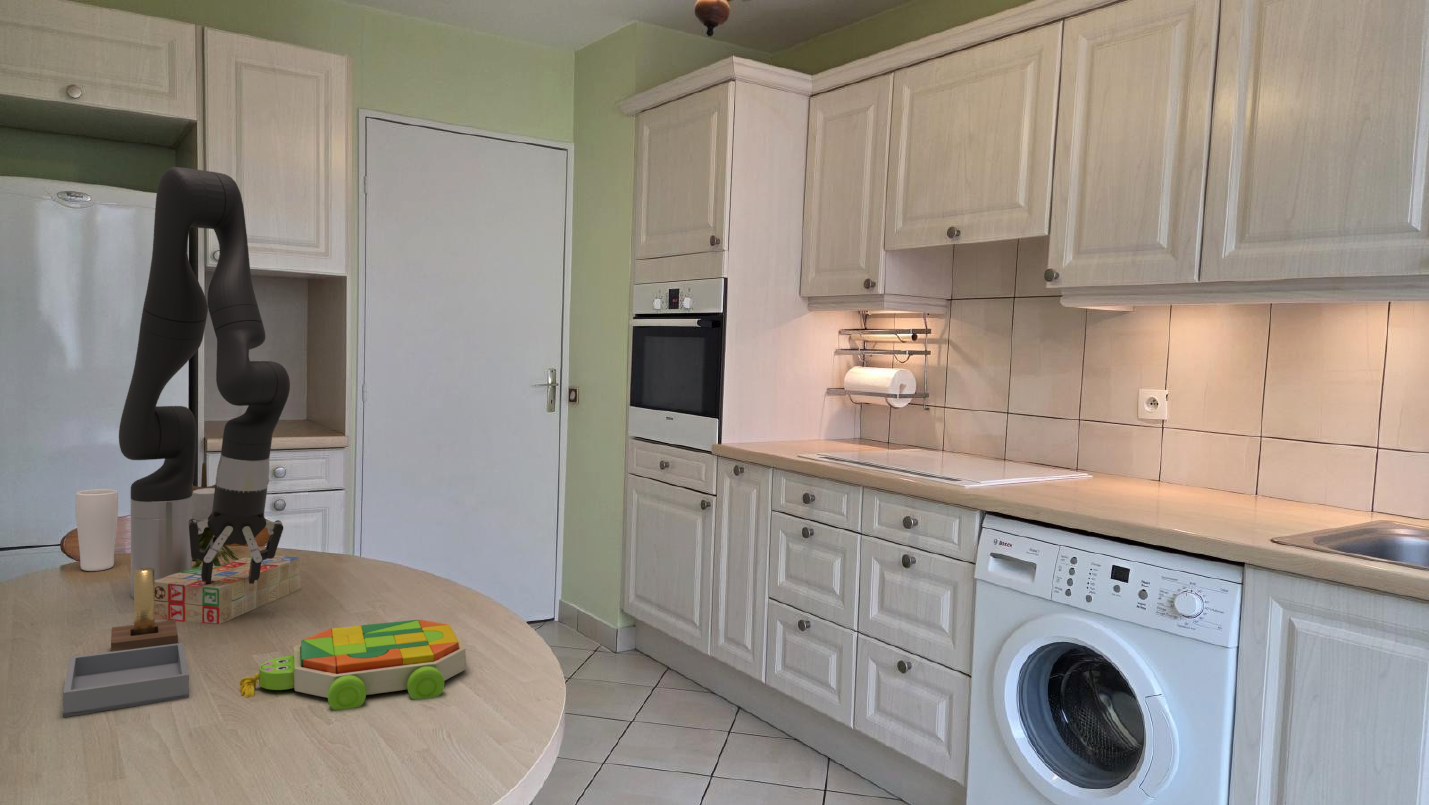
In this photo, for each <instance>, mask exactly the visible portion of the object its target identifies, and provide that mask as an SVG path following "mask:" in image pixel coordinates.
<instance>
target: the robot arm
mask: <svg viewBox="0 0 1429 805" xmlns="http://www.w3.org/2000/svg"><path fill="white" fill-rule="evenodd" d="M241 194H242V193H241V191H240V188H239V186H238V184H237V182H236V181H235V180H234V178H233V177H231V176H230V175H227V174H226V173H221V172H216V171H209V170H204V169H196V168H190V167H181V166H180V167H179V166H172V167H169V168H167V169H166V170H165V171H164V172H163V173H162V175H161V177H160V179H159V182H158V184H157V190H156V196H155V206H154V207H155V208H154V223H153V224H154V225H153V237H152V238H153V239H152V240H153V242H152V253H151V262H150V270H149V275H148V276H149V277H148V282H147V288H146V293H145V296H144V301H143V305H142V306H143V307H142V313H141V317H140V318H141V320H140V324H139V334H138V343H137V348H136V353H135V354H136V356H135V359H134V361H135V362H134V367H133V372H132V377H131V379H130V384H129V387H128V391H127V395H126V398H125V402H124V406H123V409H122V412H121V418H120V422H119V430H118V443H119V444H118V445H119V449H120V452H121V454H122V455H123V456H124V457H125V458H126V459H128V460H131V461H152V460H163V463H162V465H161V466H160V467H159V468H158V469H156V470H155V471H153V472H152V473H150V474H149V475H147V476H144V477H141V478H139V479H137V480H135V481H133V482H132V483H131V486H130V598H132V599H133V600H134V570H136V569H140V568H154V569H155V580H158V579H161V578H164V577H167V576H169V575H173V574H176V573H180V572H182V571H185V570H189V569H192V568H193V560H192V558H193V559H199V560H202V563H201V566H202V572H201V578H202V581H205V583H206V584H211V578H212V570H213V565H214V563H213V558H214V556H215V555H216V553H219V552H220V549H221V547H222V546H223V544H224V545H226V546H228V545H229V546H230V545H240V546H246V545H247V546H248V549H249V551H250V554H251V556H253V559H251V563H250V571H249V579H248V580H249V584H254V581H255V580H258V579H259V576H260V569H261V563H262V561H263V560H265V559H272V558H274V556H276V553H277V549H278V547H279V543H280V540H281V537H282V534H283V532H284V525H283V523H282V521H281V520H279V519H277V520H275V521H271V520H267V519H266V518H265V510H266V509H265V508H266V502H267V501H266V500H267V494H268V487H269V486H268V485H269V483H270V459H271V458H270V457H271V449H272V443H273V442H272V441H273V433H274V432H275V429H276V427H277V426H278V422H279V420H280V418H281V416H282V413H283V410H284V409H285V405H286V404H287V402H288V398H289V394H290V389H291V380H290V377H289V373H288V371H287V370H286V368H285V367H284V366H283V365H282V364H281V363H280V362H276V361H273V360H260V361H259V360H250V350H252V349H256V348H258V347H259V346H262V345H263V344H264V342H265V340H266V330H265V327H264V323H263V318H262V317H261V316H262V315H261V313H260V312H261V311H260V309H259V305H258V302H257V297H256V294H255V290H254V285H253V281H252V274H251V266H250V265H251V264H250V254H249V253H250V252H249V244H248V235H247V224H246V216H245V208H244V202H243V197H242V195H241ZM191 228H196V229H209V230H213V231H214V234H215V237H216V238H217V241H218V247H219V249H218V250H219V256H218V260H217V263H216V265H215V266H216V267H215V270H214V272H213V274H212V277H211V280H210V283H209V285H208V289H207V290H208V291H207V298H206V295H205V292H204V290H203V288H202V286H201V284H200V282H199V280H198V278H197V276H196V275H195V273H194V272H195V271H193V268H192V265H191V263H190V258H189V254H188V253H189V252H188V251H189V250H188V249H189V247H188V246H189V245H188V244H189V235H190V231H191ZM208 314H209V316H210V320H211V323H212V327H213V331H214V334H215V337H216V367H215V368H216V370H215V371H216V372H215V373H216V376H215V377H216V378H215V380H216V387H217V390H218V391H219V393H220V396H221V397H222V398H223V399H224V400H225V401H226V402H227V403H229V404H230V405H233V406H237V407H238V406H239V407H244V406H247V408H246V410H245V411H244V412H243V413H242V414H241V415H239V416H237V417H234V418H231V419H230V420H228V421H226V423H225V425H224V429H223V435H222V443H221V451H220V457H219V461H218V464H217V469H216V476H215V484H214V485H215V492H214V500H213V508H212V513H211V515H210V516H209V517H208V519H205V520H196V519H192V486H194V481H195V469H196V468H195V467H196V453H197V452H196V451H197V450H196V448H197V435H198V434H197V423H196V418H195V416H194V414H193V412H192V411H191V409H190V408H188V407H187V406H183V405H160V406H157V404H158V401H159V399H160V396H161V394H162V392H163V390H165V387H166V385H168V383H169V381H171V379H172V378H173V377H174V376H175V375H176V374H177V373H178V372H179V371H180V370H181V369H182V368H183V367H184V366H185V365H186V364H187V363H188V362H189V361H190V360H191V359H192V357H193V356H194V355H195V354H196V353H197V351H198V350H199V349H200V347H201V344H202V342H203V339H204V335H205V329H206V324H207V318H208ZM207 526H208V527H209V528H210V529H211V531H212V532H213V534H214V536H213V538H212V539H211V541H210V543H209V545H208V547H207V548H206V550H202V549H199V537H198V534H202V533H203V531H204V528H205V527H207ZM265 528H266V529H267V534H268V535H269V537H268V541H267V544H266V546H265V549H261V550H260V548H259V545H258V542H257V540H256V537H257V536H258V535H260V533H261V532H262V531H263V530H264V529H265Z"/></svg>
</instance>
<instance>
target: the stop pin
mask: <svg viewBox="0 0 1429 805" xmlns="http://www.w3.org/2000/svg"><path fill="white" fill-rule="evenodd" d="M133 605H134V606H133V609H134V610H133V625H134V636H136V635H144V634H153V633H155V622H156V619H155V569H154V568H140V569H136V570H134V599H133Z"/></svg>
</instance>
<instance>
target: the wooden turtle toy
mask: <svg viewBox="0 0 1429 805" xmlns="http://www.w3.org/2000/svg"><path fill="white" fill-rule="evenodd" d="M466 663H467V662H466V647H465V645H464V643H463V641H462V640H461V638H460V636H459V634H458V632H457V630H456V629H454V628H452V627H451V625H450V624H448V623H443V622H436V621H431V620H430V621H429V620H423V619H410V620H400V621H392V622H389V621H388V622H380V623H370V624H369V623H367V624H362V625H354V626H344V627H335V628H333V627H332V628H329V629H326V630H323V631H320V632H319V633H318V632H317V633H316V634H313V635H311V636H309V637H305V638H304V639H302V640H300V643H299V644H298V645H295V646H294V647H293V655H286V656H279V657H275V658H272V659H268V660H266V661H264V662H263V663H261V665H260V666H259V673H255V675H254V676H244V677H242V678H241V679H240V681H239V686H240V689H239V691H240V695H241V696H243V698H244V699H247V698H253V697H255V690H256V688H257V685H256V684H258V685H259V686H260V687H261V688H263V689H266V690H272V691H273V690H274V691H283V690H291V689H293V690H294V691H295V692H297V693H298V692H299V693H303V694H307V695H313V696H317V697H322V698H327V701H328V702H327V703H328V705H329V707H330V708H331V709H332V710H334V711H340V710H341V711H342V710H348V709H355V708H359V707H361V706H363V704H364V702H365V701H366V698H367V697H366V696H369V695H370V696H371V695H376V694H377V695H378V694H382V693H383V694H384V693H390V692H400V691H404V690H405V691H407V692H408V695H409V697H410V698H411V699H412V700H421V699H428V698H430V699H431V698H436V697H439V696H441V695H442V693H443V691H444V689H445V681H447V680H449V679H450V678H452V677H454V676H456V675H458V674H460V673H462V672H463V671H466V666H467V665H466Z"/></svg>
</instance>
